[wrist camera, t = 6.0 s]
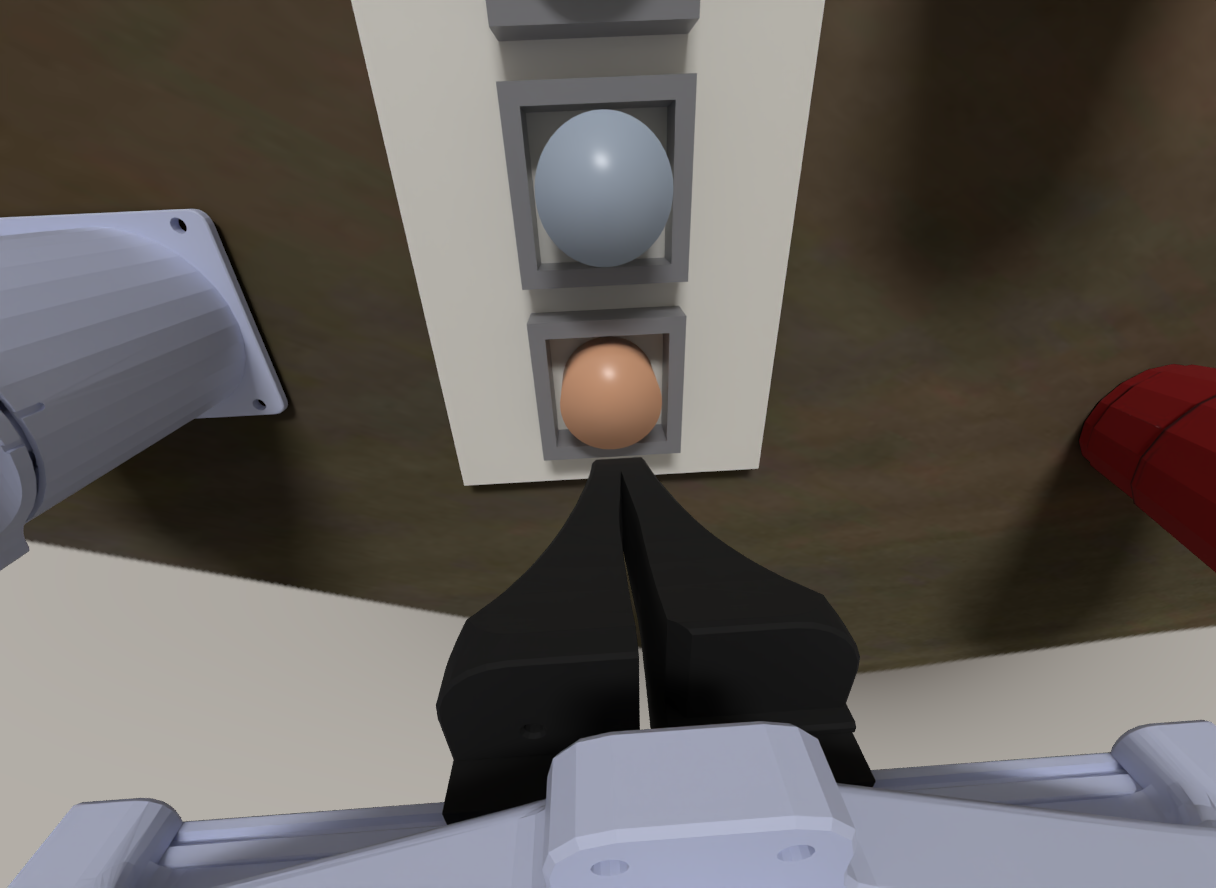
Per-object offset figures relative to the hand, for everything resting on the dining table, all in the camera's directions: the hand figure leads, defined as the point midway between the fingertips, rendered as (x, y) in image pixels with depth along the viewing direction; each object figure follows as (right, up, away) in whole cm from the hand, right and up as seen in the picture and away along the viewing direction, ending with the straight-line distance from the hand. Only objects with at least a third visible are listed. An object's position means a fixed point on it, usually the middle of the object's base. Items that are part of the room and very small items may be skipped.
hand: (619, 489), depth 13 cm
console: (-1, +11, +4) cm, 11 cm away
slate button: (-1, +9, +2) cm, 10 cm away
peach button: (0, +4, +7) cm, 8 cm away
